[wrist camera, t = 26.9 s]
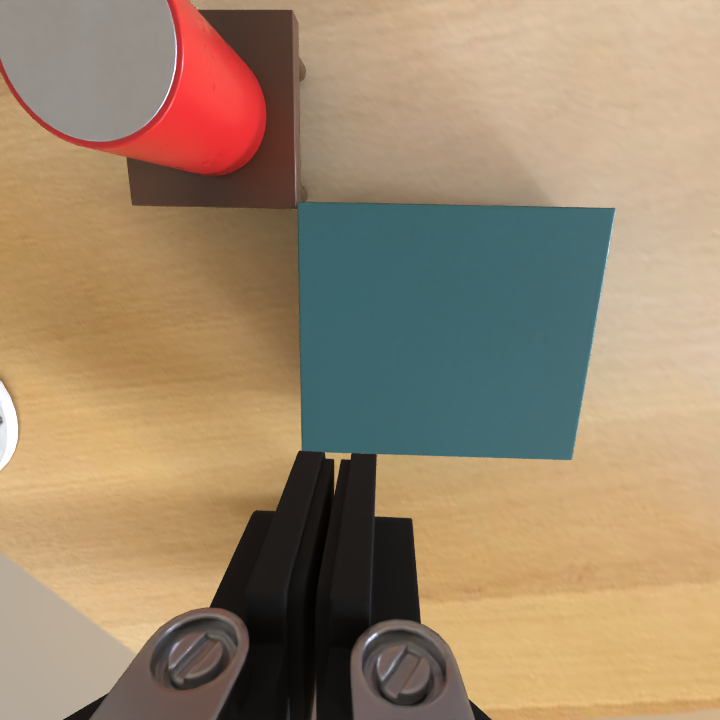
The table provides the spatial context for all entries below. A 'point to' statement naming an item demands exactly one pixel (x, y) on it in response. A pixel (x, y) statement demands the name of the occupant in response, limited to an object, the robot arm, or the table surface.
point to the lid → (447, 326)
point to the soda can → (133, 81)
